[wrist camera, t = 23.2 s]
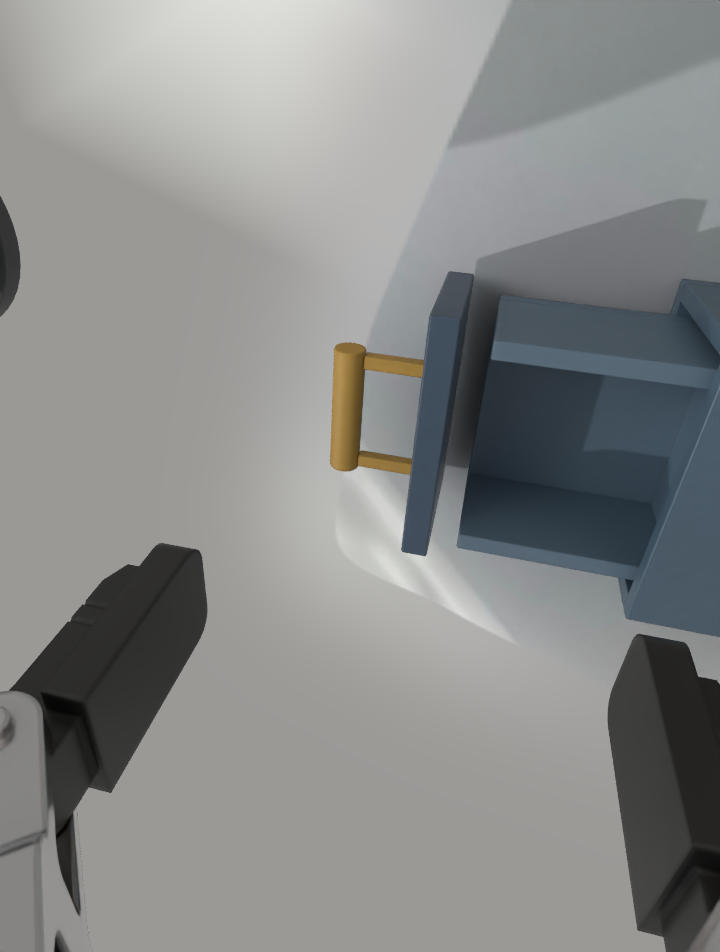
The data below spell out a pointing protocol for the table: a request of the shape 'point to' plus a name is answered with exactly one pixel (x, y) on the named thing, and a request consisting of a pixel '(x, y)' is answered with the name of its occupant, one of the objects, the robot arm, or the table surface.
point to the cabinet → (687, 508)
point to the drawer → (544, 427)
